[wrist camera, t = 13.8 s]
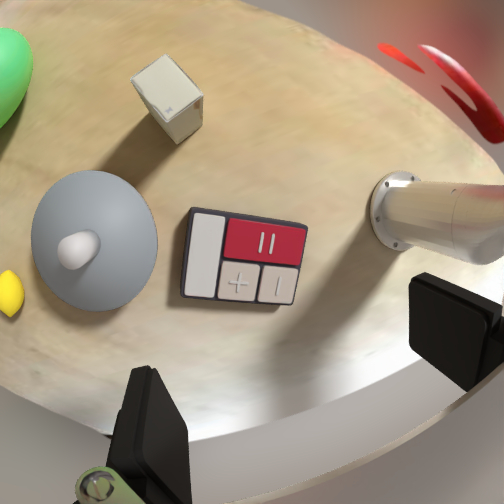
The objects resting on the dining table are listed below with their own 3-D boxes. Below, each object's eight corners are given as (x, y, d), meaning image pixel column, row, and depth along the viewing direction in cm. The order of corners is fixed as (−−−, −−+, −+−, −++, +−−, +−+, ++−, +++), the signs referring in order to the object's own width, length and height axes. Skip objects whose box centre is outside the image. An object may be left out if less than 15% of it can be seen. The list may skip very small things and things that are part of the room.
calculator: (294, 308, 39) (180, 299, 35) (284, 297, 43) (179, 288, 39) (311, 226, 37) (191, 208, 33) (298, 222, 41) (189, 206, 37)
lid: (135, 150, 29) (123, 142, 23) (176, 288, 33) (173, 308, 27) (20, 199, 27) (-6, 202, 21) (62, 321, 31) (44, 342, 25)
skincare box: (203, 125, 35) (207, 96, 23) (176, 146, 35) (168, 126, 23) (174, 90, 33) (166, 50, 22) (147, 110, 33) (128, 78, 22)
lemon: (5, 265, 34) (-14, 269, 28) (30, 270, 35) (12, 275, 29) (5, 308, 34) (-12, 317, 29) (30, 315, 35) (14, 325, 30)
